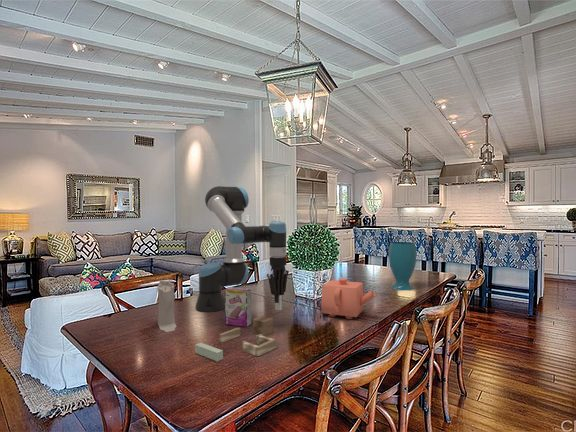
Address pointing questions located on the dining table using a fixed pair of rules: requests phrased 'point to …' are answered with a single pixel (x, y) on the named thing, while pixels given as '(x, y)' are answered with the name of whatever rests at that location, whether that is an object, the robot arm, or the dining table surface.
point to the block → (263, 325)
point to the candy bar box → (238, 306)
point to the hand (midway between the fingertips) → (278, 309)
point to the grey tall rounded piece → (166, 306)
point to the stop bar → (209, 351)
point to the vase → (402, 263)
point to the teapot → (344, 298)
